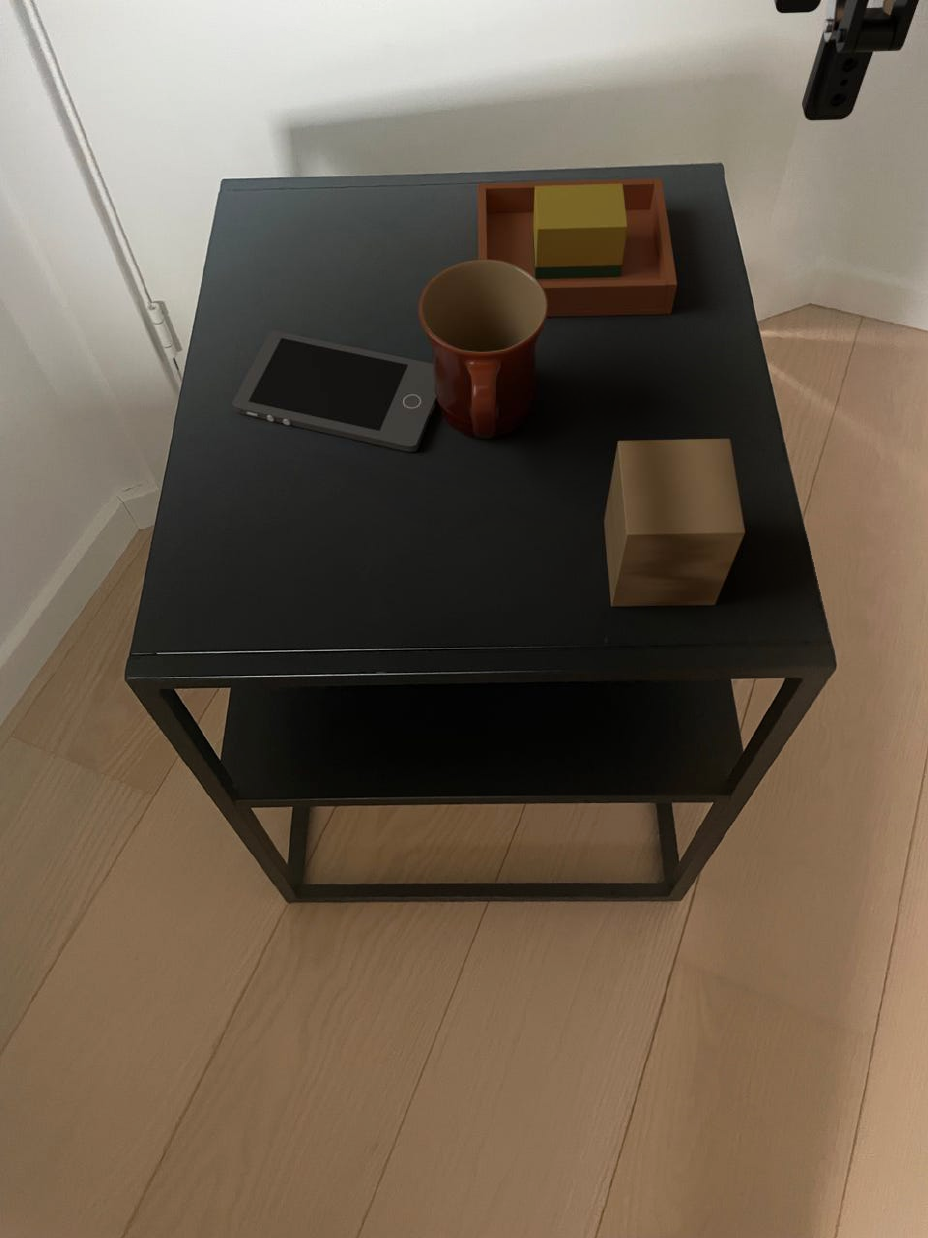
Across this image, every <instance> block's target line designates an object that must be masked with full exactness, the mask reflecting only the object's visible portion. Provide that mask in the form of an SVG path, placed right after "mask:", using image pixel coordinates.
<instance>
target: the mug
mask: <svg viewBox="0 0 928 1238" xmlns="http://www.w3.org/2000/svg"><path fill="white" fill-rule="evenodd" d="M417 311H418V318H419V321H420V325H421V326H422V328H423V330H424V333H425V334H426V336H427V337H428V340H429V342H430V345H431V348H432V353H433V354H432V357H433V360H432V361H433V362H432V364H433V365H434V381H435V383H434V390H435V395H436V398H437V403H438V406H439V409H440V412H441V415H442V416H443V418H444V419H445V421H446V422H447V423H448V425H450V426H451V427H452V428H454V430H456V431H458V432H459V433H462V434H463V435H465V436H469V437H473V438H476V439H480V440H489V439H493V438H495V437H500V436H501V437H502V436H504V435H506V434H508V433H509V432H512V431H513V430H514V429H516V428H517V427H519V426H520V425H521V424H522V423H523V422H524V420H525V419H526V418H527V416H528V414H529V412H530V409H531V406H532V404H533V400H534V397H535V393H536V385H537V383H536V367H537V366H536V365H537V364H536V346H537V341H538V339H539V338H540V335H541V333H542V331H543V328H544V326H545V324H546V323H547V319H548V317H547V316H548V311H549V303H548V298H547V294H546V292H545V290H544V288H543V286H542V285H541V283H540V282H539V281H538V280H537V279H536V278H535V277H534V276H533V275H532V274H531V273H529V272H528V271H526V270H525V269H523V268H521V267H519V266H517V265H514V264H511V263H508V262H504V261H499V260H491V259H479V258H478V259H472V260H465V261H462V262H458V263H456V264H453V265H451V266H448V267H446V268H445V269H442V270H441V271H440V272H438V273H436V275H435V276H433V277H432V278H431V279H430V280H429V281H428V282H427V284H426V285H425V286H424V288H423V290H422V292H421V294H420V296H419V300H418V309H417Z"/></svg>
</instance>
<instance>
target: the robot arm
mask: <svg viewBox="0 0 928 1238" xmlns="http://www.w3.org/2000/svg"><path fill="white" fill-rule="evenodd" d="M773 1H774V2H773V3H774V5H775V9H776V11H777V12H778V13H780V14H802V13H803V14H804V13H805V14H807V13H812V12H814V11H815V10H817V8H818V7H819V6H820V4H821V1H822V0H773ZM869 2H870V0H826V8H825V19H824V22H823V26H822V27H823V29H822V34H821V37H820V41H819V43H818V47H817V50H816V54H815V57H814V61H813V64H812V67H811V71H810V74H809V78H808V80H807V84H806V86H805V87H806V88H805V91H804V94H803V98H802V101H801V107H802V111H803V115H804V118H805V119H806V120H808V121H840V120H843V119H846V118H848V117H849V116H850V115H851V114H852V112H853V111H854V108H855V105H856V102H857V100H858V96H859V94H860V91H861V88H862V86H863V83H864V80H865V77H866V74H867V72H868V68H869V65H870V62H871V59H872V57H873V53H875V52H876V53H877V52H899V51H901V50H902V48H903V46H904V44H905V42H906V39H907V36H908V34H909V30H910V27H911V24H912V21H913V20H914V16H915V13H916V10H917V8H918V5H919V3H920V0H873V2H872V3H873V4H872V7H868V5H869Z"/></svg>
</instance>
